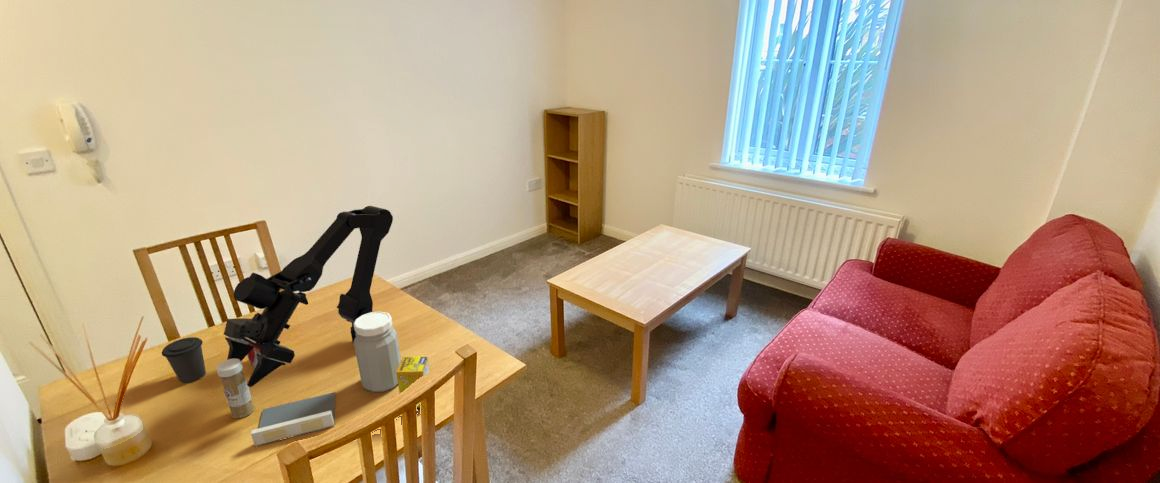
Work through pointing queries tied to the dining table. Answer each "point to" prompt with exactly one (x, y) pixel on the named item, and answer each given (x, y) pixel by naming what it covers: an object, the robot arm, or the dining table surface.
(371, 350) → the jar
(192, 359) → the coffee cup
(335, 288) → the dining table surface
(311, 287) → the robot arm
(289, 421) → the shelf
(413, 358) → the supplement box
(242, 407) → the sprinkles bottle
